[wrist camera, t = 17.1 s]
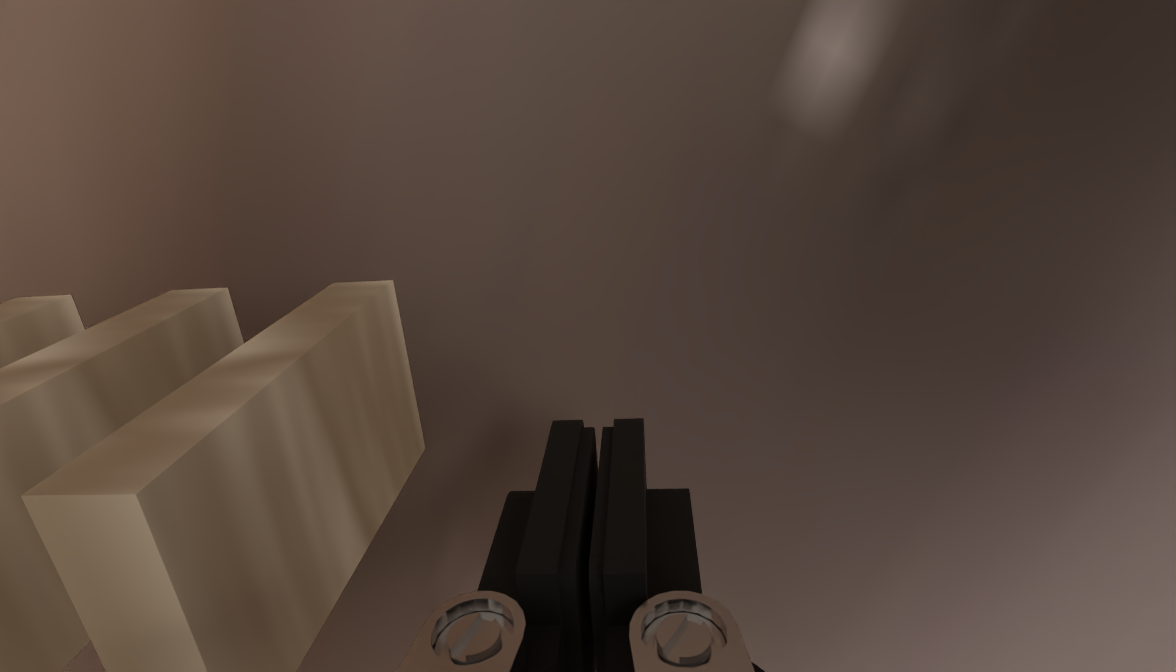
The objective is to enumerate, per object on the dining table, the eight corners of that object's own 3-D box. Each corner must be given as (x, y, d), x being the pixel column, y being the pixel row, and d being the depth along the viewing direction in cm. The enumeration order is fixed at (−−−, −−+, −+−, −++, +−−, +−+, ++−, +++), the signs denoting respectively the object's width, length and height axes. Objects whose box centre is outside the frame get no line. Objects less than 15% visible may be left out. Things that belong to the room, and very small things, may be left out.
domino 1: (227, 287, 17) (-179, 497, 8) (275, 451, 19) (-19, 753, 10) (170, 289, 17) (-282, 497, 9) (224, 451, 19) (-107, 750, 11)
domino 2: (393, 280, 16) (135, 494, 8) (425, 447, 18) (244, 762, 10) (333, 282, 17) (20, 495, 8) (371, 449, 18) (148, 759, 10)
